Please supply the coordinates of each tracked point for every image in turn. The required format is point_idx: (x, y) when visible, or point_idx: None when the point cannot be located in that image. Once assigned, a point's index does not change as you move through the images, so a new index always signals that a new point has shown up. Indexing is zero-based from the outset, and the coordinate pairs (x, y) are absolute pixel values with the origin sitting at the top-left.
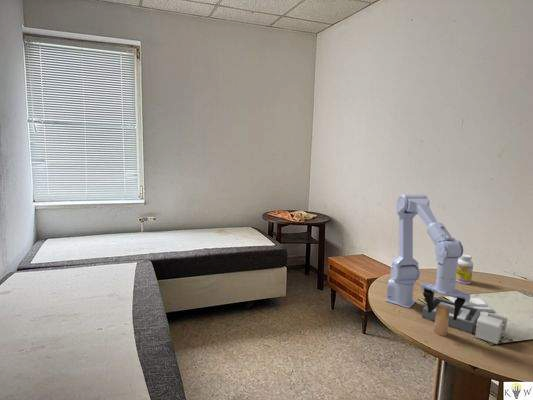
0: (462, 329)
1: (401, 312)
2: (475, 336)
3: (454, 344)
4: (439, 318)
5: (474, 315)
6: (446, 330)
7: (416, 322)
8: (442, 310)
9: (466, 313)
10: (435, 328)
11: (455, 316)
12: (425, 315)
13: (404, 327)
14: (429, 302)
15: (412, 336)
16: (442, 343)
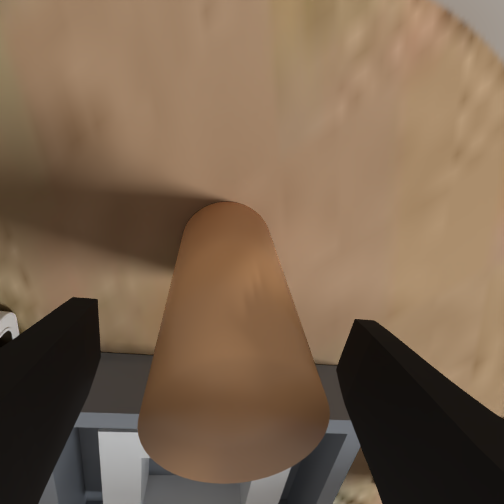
0: (110, 356)
1: (464, 357)
2: (9, 313)
3: (99, 113)
4: (250, 270)
5: (53, 501)
6: (182, 241)
7: (383, 291)
8: (229, 347)
9: (111, 500)
10: (265, 231)
11: (42, 325)
12: (337, 381)
13: (474, 169)
14: (471, 428)
15: (428, 40)
16: (186, 67)
